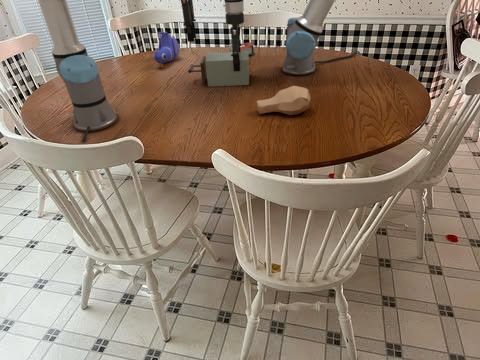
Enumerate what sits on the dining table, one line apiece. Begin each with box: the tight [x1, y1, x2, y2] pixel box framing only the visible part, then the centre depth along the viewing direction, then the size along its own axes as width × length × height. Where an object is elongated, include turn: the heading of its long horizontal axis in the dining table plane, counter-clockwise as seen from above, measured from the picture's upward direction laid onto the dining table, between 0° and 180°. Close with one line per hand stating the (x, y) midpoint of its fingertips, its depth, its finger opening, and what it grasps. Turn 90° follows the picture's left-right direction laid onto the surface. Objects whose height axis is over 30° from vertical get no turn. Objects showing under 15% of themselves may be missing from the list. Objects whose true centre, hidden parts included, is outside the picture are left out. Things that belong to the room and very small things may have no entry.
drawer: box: [187, 55, 207, 85], centre depth 158 cm, size 23×10×9 cm, turn 88°
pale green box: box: [205, 51, 250, 87], centre depth 157 cm, size 18×11×11 cm, turn 88°
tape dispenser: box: [228, 42, 255, 56], centre depth 185 cm, size 18×5×20 cm
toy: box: [152, 31, 180, 69], centre depth 182 cm, size 10×17×25 cm
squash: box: [255, 85, 312, 116], centre depth 130 cm, size 11×20×9 cm, turn 92°
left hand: (192, 39), depth 151 cm, fingers open, 4 cm apart
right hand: (237, 66), depth 157 cm, fingers closed on pale green box, 11 cm apart
